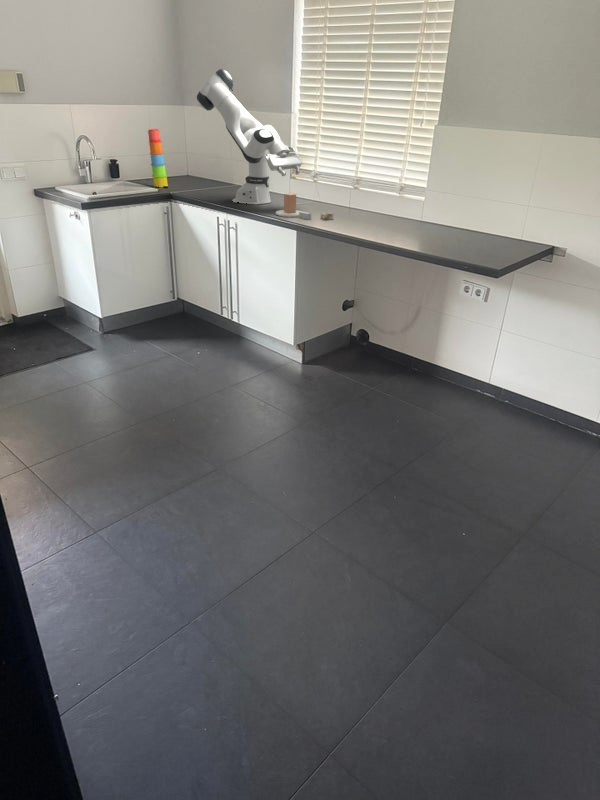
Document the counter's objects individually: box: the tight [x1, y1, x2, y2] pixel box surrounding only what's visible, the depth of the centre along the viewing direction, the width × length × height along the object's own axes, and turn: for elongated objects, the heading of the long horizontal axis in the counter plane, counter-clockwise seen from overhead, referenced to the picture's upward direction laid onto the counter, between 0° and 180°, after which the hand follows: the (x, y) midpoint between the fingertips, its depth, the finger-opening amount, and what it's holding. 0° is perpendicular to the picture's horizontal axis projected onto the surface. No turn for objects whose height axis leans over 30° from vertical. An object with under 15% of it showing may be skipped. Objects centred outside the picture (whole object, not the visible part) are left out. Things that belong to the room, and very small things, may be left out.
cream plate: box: [275, 209, 304, 218], centre depth 297 cm, size 15×15×1 cm
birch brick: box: [320, 212, 334, 221], centre depth 288 cm, size 6×3×3 cm, turn 126°
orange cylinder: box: [283, 192, 297, 213], centre depth 295 cm, size 4×4×9 cm
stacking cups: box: [147, 128, 169, 187], centre depth 362 cm, size 10×10×35 cm
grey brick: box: [298, 211, 312, 220], centre depth 289 cm, size 6×3×3 cm, turn 40°
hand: (291, 174), depth 298 cm, fingers open, 8 cm apart
